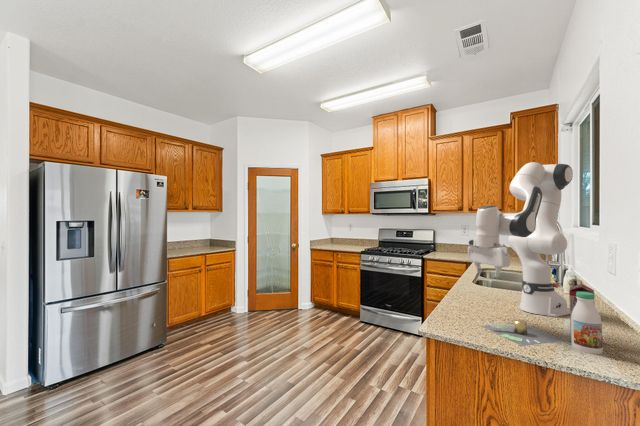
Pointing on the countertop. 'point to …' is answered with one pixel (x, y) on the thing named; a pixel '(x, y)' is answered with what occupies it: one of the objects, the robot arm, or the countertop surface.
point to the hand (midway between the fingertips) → (487, 274)
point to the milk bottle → (586, 325)
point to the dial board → (524, 335)
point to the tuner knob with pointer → (513, 326)
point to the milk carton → (573, 296)
